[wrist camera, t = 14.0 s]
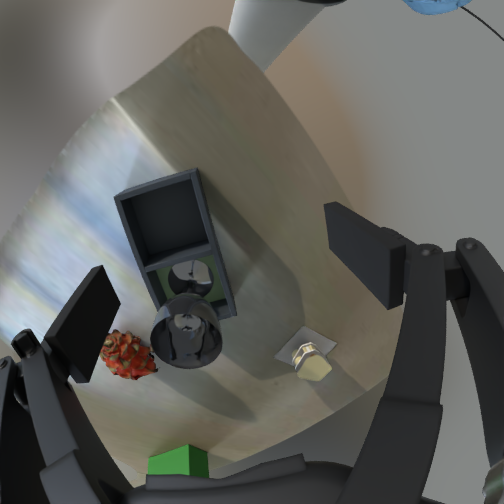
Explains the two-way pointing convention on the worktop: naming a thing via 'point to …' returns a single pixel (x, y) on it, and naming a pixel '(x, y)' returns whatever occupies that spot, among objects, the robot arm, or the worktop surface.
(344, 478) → the robot arm
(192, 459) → the hardback book
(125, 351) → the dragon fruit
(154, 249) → the divided tray
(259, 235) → the worktop surface
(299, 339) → the stacked layers on plate
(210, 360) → the wine glass
